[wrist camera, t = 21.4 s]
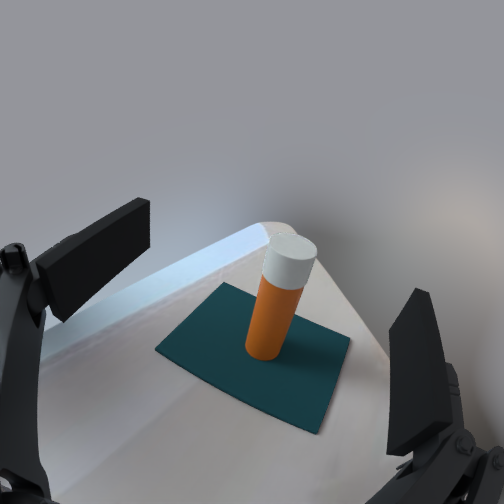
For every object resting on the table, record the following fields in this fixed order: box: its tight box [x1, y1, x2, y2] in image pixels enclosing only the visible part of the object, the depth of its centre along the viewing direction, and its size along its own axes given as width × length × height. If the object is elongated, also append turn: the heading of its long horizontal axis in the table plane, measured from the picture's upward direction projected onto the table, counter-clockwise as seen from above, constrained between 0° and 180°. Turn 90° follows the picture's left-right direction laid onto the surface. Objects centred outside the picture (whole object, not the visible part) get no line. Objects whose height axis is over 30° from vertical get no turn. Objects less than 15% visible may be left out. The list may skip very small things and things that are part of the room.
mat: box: [155, 282, 350, 434], centre depth 30 cm, size 18×14×1 cm
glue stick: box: [245, 233, 317, 361], centre depth 26 cm, size 4×4×13 cm
